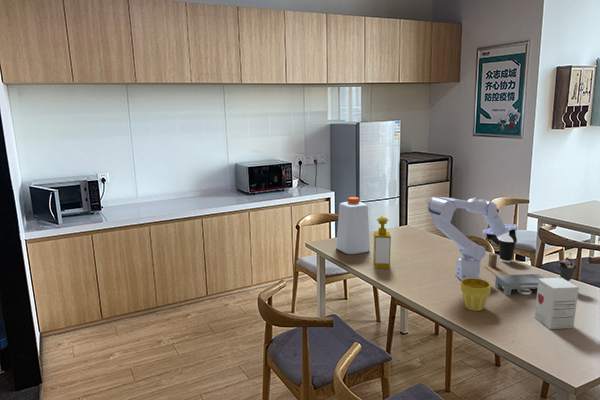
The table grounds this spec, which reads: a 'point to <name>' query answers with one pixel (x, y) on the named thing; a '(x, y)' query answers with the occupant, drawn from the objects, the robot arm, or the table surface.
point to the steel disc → (524, 291)
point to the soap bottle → (382, 246)
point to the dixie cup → (506, 248)
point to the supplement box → (556, 303)
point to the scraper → (495, 266)
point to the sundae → (567, 269)
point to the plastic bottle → (353, 227)
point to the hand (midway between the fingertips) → (507, 242)
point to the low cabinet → (517, 282)
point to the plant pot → (475, 293)
